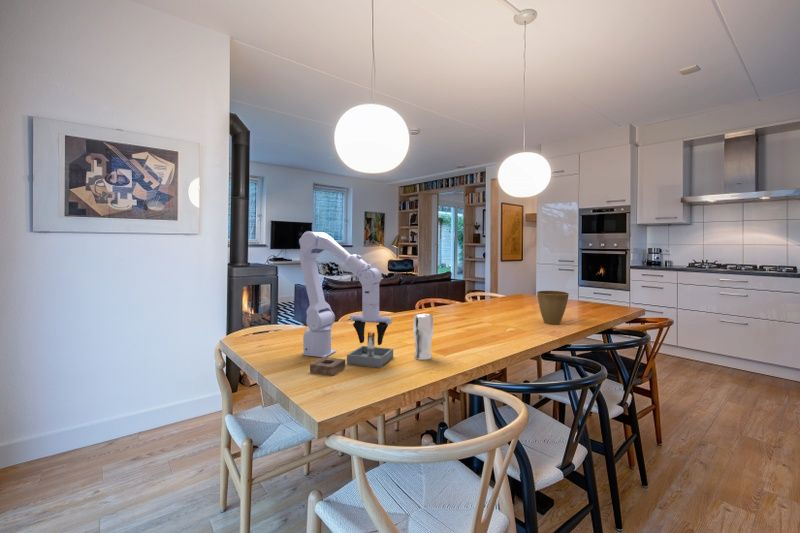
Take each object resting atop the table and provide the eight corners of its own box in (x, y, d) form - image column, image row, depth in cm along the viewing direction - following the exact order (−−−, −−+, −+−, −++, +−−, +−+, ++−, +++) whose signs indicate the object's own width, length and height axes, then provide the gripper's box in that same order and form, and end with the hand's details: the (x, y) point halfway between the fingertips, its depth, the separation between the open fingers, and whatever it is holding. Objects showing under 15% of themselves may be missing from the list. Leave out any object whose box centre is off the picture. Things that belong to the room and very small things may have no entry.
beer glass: (427, 362, 122) (427, 318, 121) (409, 358, 125) (409, 315, 125) (436, 356, 128) (436, 314, 127) (419, 353, 131) (419, 312, 130)
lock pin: (365, 359, 122) (366, 333, 122) (369, 357, 124) (370, 331, 124) (371, 360, 121) (372, 333, 121) (375, 358, 123) (376, 332, 123)
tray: (346, 363, 119) (346, 354, 119) (362, 353, 131) (362, 345, 131) (380, 368, 115) (380, 358, 115) (393, 357, 127) (393, 348, 127)
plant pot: (532, 320, 193) (533, 290, 192) (561, 320, 191) (562, 290, 191) (540, 326, 178) (541, 293, 177) (572, 326, 177) (573, 294, 176)
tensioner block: (310, 372, 111) (309, 364, 111) (323, 364, 119) (323, 356, 119) (332, 375, 109) (332, 367, 109) (345, 367, 116) (345, 359, 116)
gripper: (346, 304, 121) (346, 344, 121) (386, 306, 116) (386, 348, 117) (355, 301, 127) (355, 339, 128) (394, 303, 123) (393, 343, 123)
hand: (370, 343), depth 123 cm, fingers open, 6 cm apart
